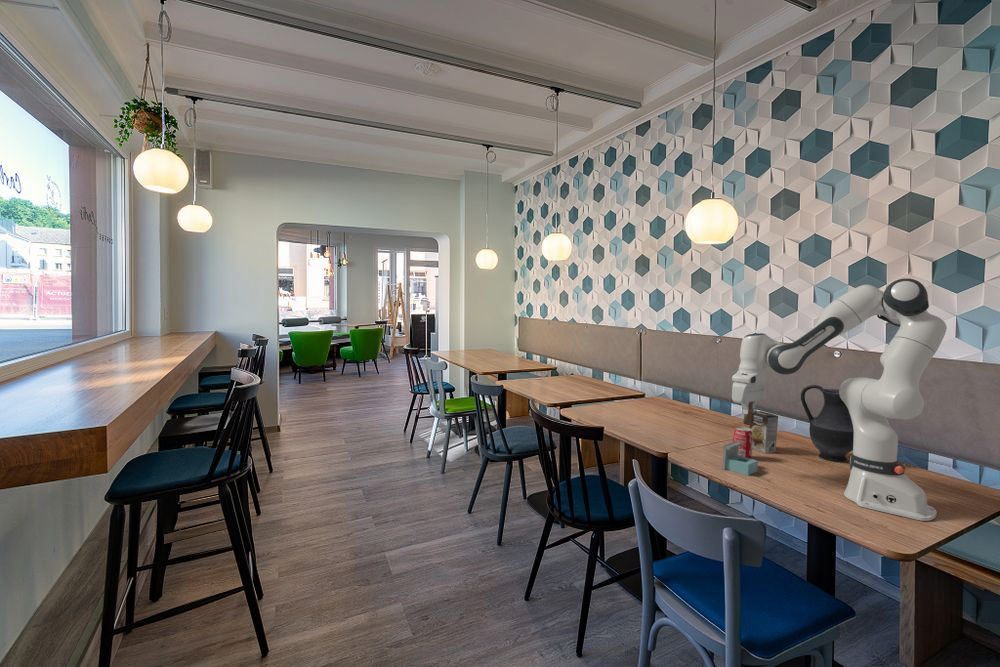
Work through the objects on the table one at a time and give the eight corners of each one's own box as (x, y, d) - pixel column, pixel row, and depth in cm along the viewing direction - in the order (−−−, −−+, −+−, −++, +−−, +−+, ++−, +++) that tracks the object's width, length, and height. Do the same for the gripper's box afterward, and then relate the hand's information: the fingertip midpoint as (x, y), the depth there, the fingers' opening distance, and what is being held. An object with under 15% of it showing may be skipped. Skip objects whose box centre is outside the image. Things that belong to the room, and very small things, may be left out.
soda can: (747, 455, 195) (748, 427, 194) (754, 460, 188) (756, 431, 187) (729, 454, 196) (731, 426, 195) (736, 459, 189) (738, 430, 188)
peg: (752, 424, 175) (754, 398, 174) (749, 425, 173) (751, 398, 172) (745, 423, 177) (747, 396, 176) (742, 423, 175) (744, 397, 175)
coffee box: (747, 447, 207) (749, 411, 206) (759, 446, 209) (761, 410, 208) (764, 453, 199) (766, 415, 198) (776, 452, 200) (778, 415, 200)
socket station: (758, 470, 177) (759, 447, 176) (746, 476, 170) (747, 451, 170) (734, 464, 184) (735, 441, 183) (722, 469, 177) (723, 445, 177)
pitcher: (860, 468, 182) (866, 392, 180) (797, 458, 192) (801, 386, 191) (855, 457, 196) (860, 386, 195) (796, 448, 207) (800, 381, 205)
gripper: (755, 373, 183) (752, 408, 183) (729, 376, 170) (726, 414, 171) (772, 376, 178) (769, 412, 178) (747, 379, 165) (744, 417, 166)
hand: (748, 413), depth 175 cm, fingers closed on peg, 3 cm apart
